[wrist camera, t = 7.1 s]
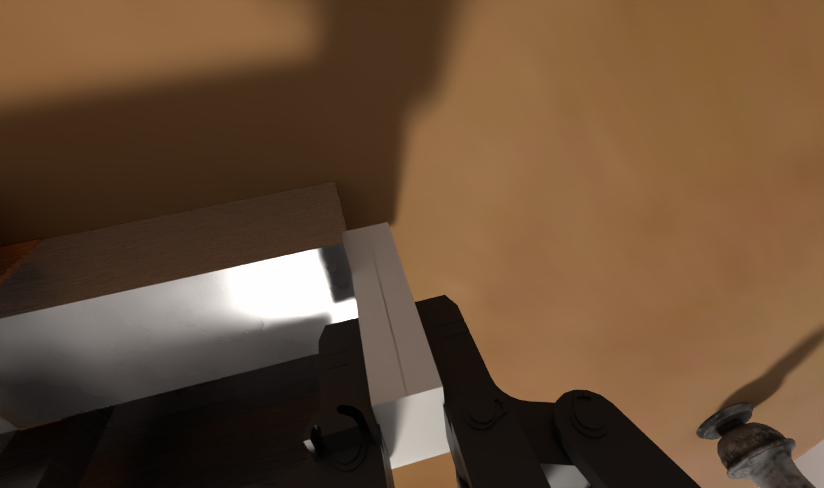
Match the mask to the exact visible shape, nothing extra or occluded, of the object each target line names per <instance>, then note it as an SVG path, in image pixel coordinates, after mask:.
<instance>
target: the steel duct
mask: <svg viewBox="0 0 824 488" xmlns="http://www.w3.org/2000/svg"><path fill="white" fill-rule="evenodd" d="M345 231H348V230H347V227H346V223H345V219H344V215H343V211H342V207H341V203H340V199H339V195H338V191H337V187H336V184H335V181H333V182H328V183H323V184H318V185H313V186H308V187H303V188H298V189H293V190H288V191H283V192H278V193H273V194H268V195H263V196H258V197H253V198H248V199H243V200H238V201H233V202H229V203H224V204H219V205H214V206H209V207H204V208H199V209H194V210H189V211H184V212H179V213H174V214H169V215H164V216H159V217H154V218H149V219H144V220H139V221H134V222H129V223H124V224H119V225H114V226H109V227H104V228H99V229H94V230H89V231H84V232H79V233H74V234H69V235H64V236H59V237H54V238H49V239H44V240H40V239H37V240H32V241H27V242H22V243H17V244H12V245H7V246H2V247H0V434H2V433H6V432H10V431H14V430H18V429H19V430H20V431H21V430H25V429H29V428H33V427H37V426H41V425H45V424H49V423H53V422H57V421H61V420H64V419H65V417H69V416H73V415H77V414H81V413H85V412H89V411H93V410H97V409H101V408H105V407H109V406H113V405H117V404H120V403H124V402H128V401H132V400H136V399H140V398H144V397H148V396H152V395H156V394H160V393H164V392H168V391H172V390H176V389H180V388H184V387H188V386H192V385H196V384H199V383H203V382H207V381H211V380H215V379H219V378H223V377H227V376H231V375H235V374H239V373H243V372H247V371H251V370H255V369H259V368H263V367H267V366H271V365H275V364H279V363H282V362H286V361H290V360H294V359H298V358H302V357H306V356H310V355H314V354H318V353H319V348H318V341H319V339H320V336H321V334H322V332H323V329H324V327H325V325H329V324H333V323H337V322H341V321H345V320H349V319H353V318H357V317H358V313H357V307H356V300H355V293H354V287H353V280H352V271H351V265H350V258H349V251H348V245H347V238H346V232H345Z"/></svg>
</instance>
